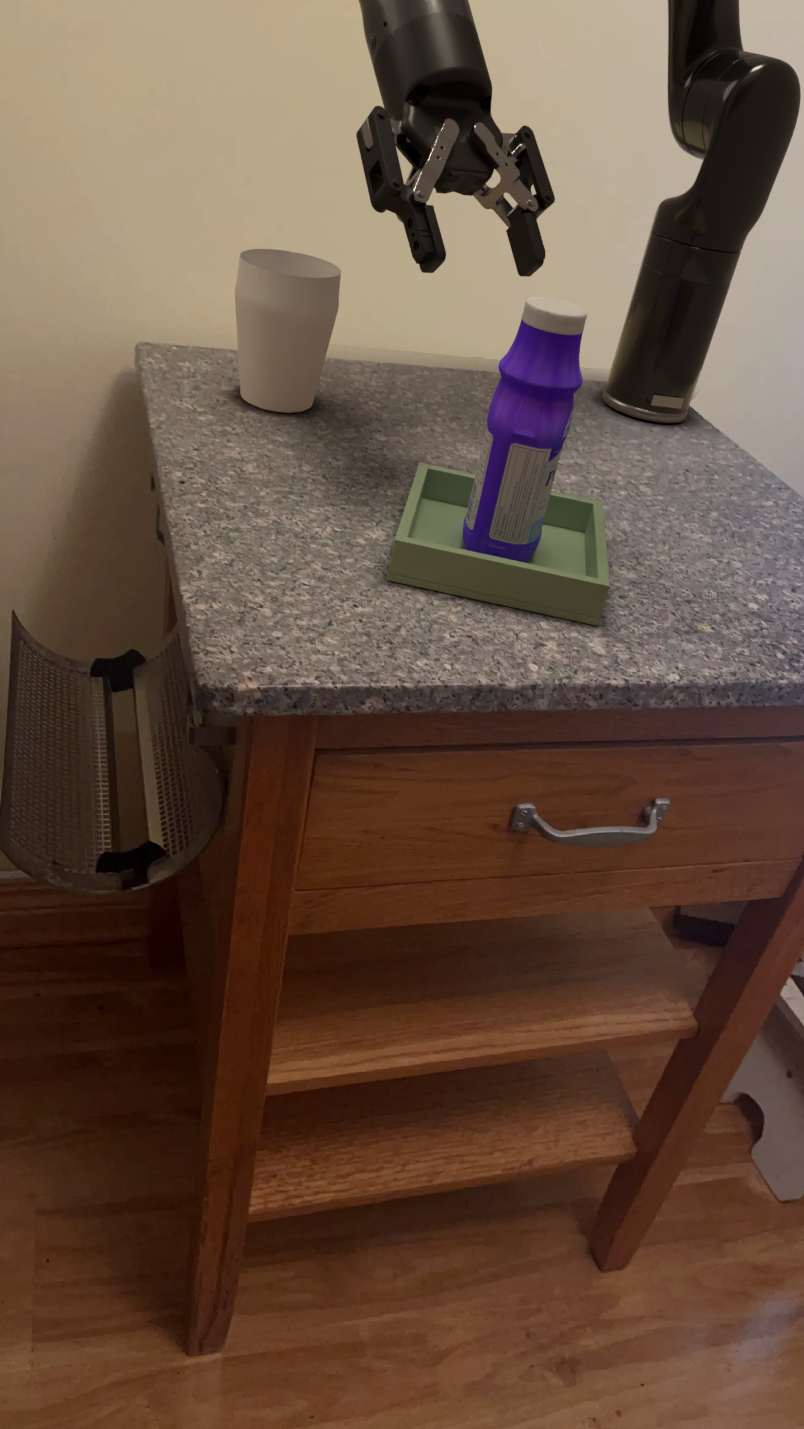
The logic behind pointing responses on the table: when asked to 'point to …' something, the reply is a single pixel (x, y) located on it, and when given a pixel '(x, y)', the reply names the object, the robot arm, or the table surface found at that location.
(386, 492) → the table surface
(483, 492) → the bottle
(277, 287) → the cup
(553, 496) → the tray
